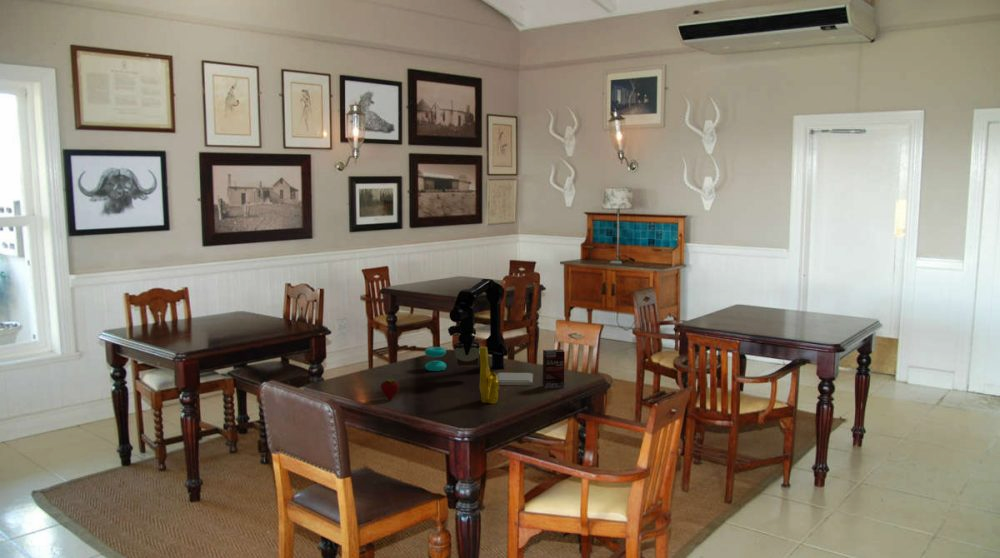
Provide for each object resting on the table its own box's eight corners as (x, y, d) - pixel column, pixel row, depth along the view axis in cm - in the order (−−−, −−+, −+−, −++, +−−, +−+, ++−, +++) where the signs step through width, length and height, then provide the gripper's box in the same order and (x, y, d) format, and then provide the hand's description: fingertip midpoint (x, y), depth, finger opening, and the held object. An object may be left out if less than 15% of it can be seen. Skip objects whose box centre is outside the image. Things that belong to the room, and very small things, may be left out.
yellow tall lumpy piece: (492, 408, 305) (492, 352, 303) (473, 407, 307) (473, 351, 305) (503, 396, 322) (503, 343, 320) (485, 395, 324) (485, 342, 322)
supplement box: (545, 388, 335) (545, 352, 333) (542, 386, 340) (542, 349, 338) (564, 387, 337) (565, 351, 335) (561, 385, 341) (561, 348, 340)
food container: (482, 360, 354) (481, 339, 351) (481, 365, 348) (480, 344, 346) (455, 361, 355) (454, 340, 352) (453, 366, 349) (452, 345, 346)
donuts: (443, 350, 365) (422, 350, 366) (443, 372, 366) (422, 371, 368) (448, 346, 375) (427, 346, 376) (448, 367, 376) (427, 366, 377)
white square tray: (497, 376, 357) (497, 372, 357) (533, 376, 356) (533, 372, 356) (495, 385, 341) (495, 380, 341) (532, 385, 341) (532, 380, 340)
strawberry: (385, 397, 322) (384, 373, 321) (401, 398, 319) (401, 374, 318) (378, 400, 316) (377, 376, 315) (395, 402, 314) (394, 377, 313)
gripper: (451, 315, 358) (451, 349, 359) (446, 322, 339) (446, 358, 341) (475, 315, 357) (476, 349, 359) (472, 322, 339) (472, 358, 340)
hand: (467, 353), depth 350 cm, fingers closed on food container, 6 cm apart
